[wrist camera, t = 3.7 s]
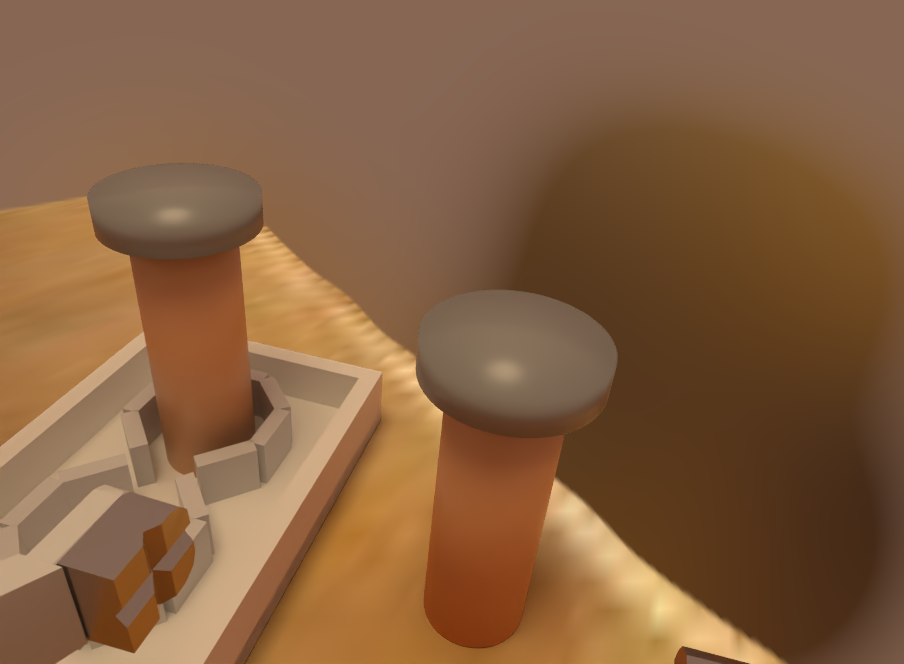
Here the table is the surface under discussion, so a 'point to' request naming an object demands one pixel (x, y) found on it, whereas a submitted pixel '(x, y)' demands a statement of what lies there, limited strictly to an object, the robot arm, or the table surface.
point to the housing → (199, 488)
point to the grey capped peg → (188, 293)
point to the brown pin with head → (500, 445)
